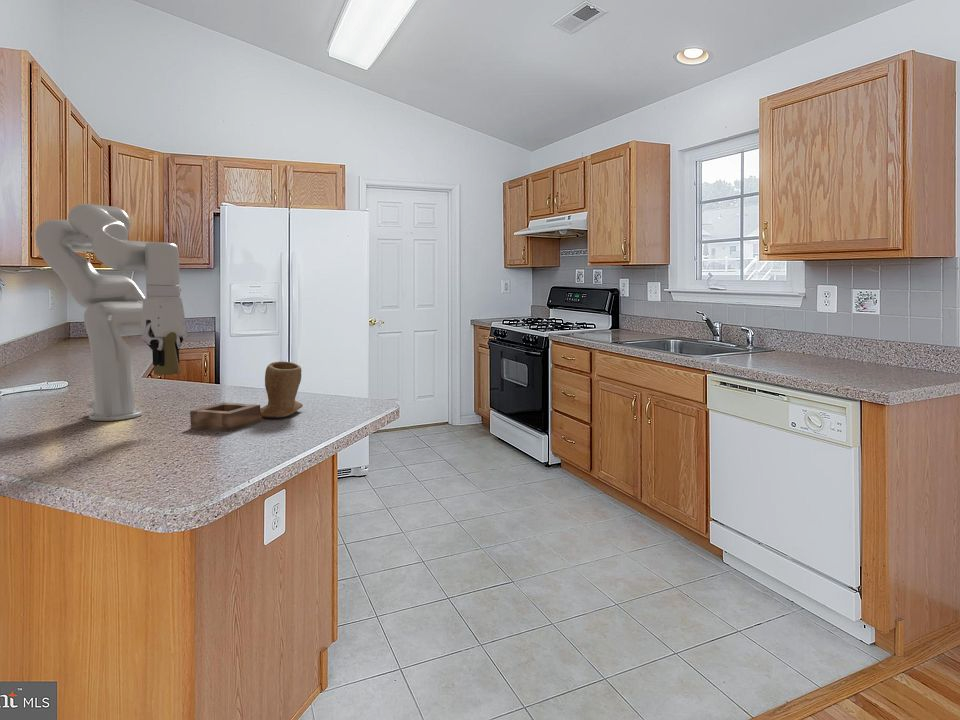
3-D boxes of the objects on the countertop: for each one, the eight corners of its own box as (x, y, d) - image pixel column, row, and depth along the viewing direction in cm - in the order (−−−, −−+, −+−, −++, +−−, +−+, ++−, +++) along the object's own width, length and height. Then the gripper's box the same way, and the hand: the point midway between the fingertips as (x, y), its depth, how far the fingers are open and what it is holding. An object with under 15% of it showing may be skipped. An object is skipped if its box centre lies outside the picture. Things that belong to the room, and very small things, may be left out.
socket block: (190, 428, 157) (189, 410, 156) (223, 418, 168) (222, 402, 167) (230, 431, 153) (229, 413, 152) (261, 421, 164) (260, 404, 164)
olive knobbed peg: (169, 375, 154) (167, 331, 152) (147, 374, 155) (146, 330, 153) (185, 371, 160) (183, 329, 158) (164, 370, 161) (163, 328, 159)
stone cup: (292, 421, 165) (290, 365, 163) (250, 420, 166) (247, 365, 164) (313, 410, 180) (312, 359, 178) (274, 409, 181) (272, 358, 179)
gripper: (176, 291, 163) (179, 359, 166) (123, 292, 148) (127, 367, 150) (200, 292, 161) (202, 361, 164) (148, 293, 145) (151, 370, 148)
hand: (166, 363), depth 157 cm, fingers closed on olive knobbed peg, 4 cm apart
